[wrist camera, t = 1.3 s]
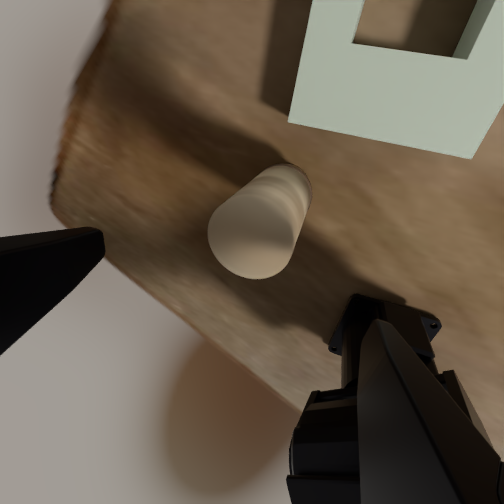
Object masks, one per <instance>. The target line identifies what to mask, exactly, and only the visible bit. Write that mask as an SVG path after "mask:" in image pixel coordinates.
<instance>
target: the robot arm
mask: <svg viewBox="0 0 504 504" xmlns="http://www.w3.org/2000/svg"><path fill="white" fill-rule="evenodd" d="M104 255H105V244H104V237H103V233H102V231H101V230H99V229H96V228H93V227H81V228H73V229H64V230H56V231H48V232H40V233H33V234H32V233H31V234H23V235H15V236H7V237H0V355H2V354H3V353H4V352H5V351H6V350H7V349H8V348H9V347H10V346H11V345H13V344H14V343H15V342H16V341H17V340H18V339H19V338H20V337H21V336H23V335H24V334H25V333H26V332H27V331H28V330H29V329H30V328H32V327H33V326H34V325H35V324H36V323H37V322H38V321H39V320H40V319H42V318H43V317H44V316H45V315H46V314H47V313H48V312H49V311H50V310H52V309H53V308H54V307H55V306H56V305H57V304H58V303H59V302H61V301H62V300H63V299H64V298H65V297H66V296H67V295H68V294H69V293H70V292H71V291H73V289H74V288H75V287H76V286H77V285H78V284H79V283H80V282H81V281H82V280H83V279H84V278H85V277H86V276H87V275H88V273H89V272H90V271H91V270H92V269H93V268H94V267H95V266H96V265H97V264H98V263H99V262H100V261H101V259H102V258H103V257H104ZM354 300H360V301H358V302H356V301H354ZM432 323H435V324H434V325H430V324H432ZM441 327H442V325H441V322H440V320H439V319H438V318H436V317H432V316H429V315H426V314H423V313H419V312H418V311H416V310H412V309H409V308H406V307H402V306H399V305H396V304H393V303H389V302H386V301H380V300H377V299H373V298H370V297H367V296H364V295H360V294H353V295H352V296H351V297H350V299H349V301H348V303H347V305H346V307H345V310H344V312H343V314H342V316H341V318H340V320H339V323H338V325H337V327H336V329H335V331H334V333H333V336H332V338H331V340H330V342H329V345H328V349H329V351H330V352H332V353H334V354H337V355H340V356H342V373H341V389H334V390H328V391H320V390H317V391H312V392H311V394H310V397H309V399H308V401H307V403H306V406H305V408H304V410H303V413H302V415H301V417H300V420H299V422H298V424H297V426H296V427H295V429H294V431H293V434H292V439H291V444H290V448H289V468H290V475H287V478H286V481H287V486H288V491H289V495H290V498H291V502H292V504H504V462H502V461H501V458H500V456H499V455H498V454H497V453H496V451H495V450H494V448H493V446H492V444H491V441H490V439H489V437H488V435H487V433H486V430H485V428H484V426H483V424H482V422H481V420H480V418H479V416H478V414H477V413H476V411H475V409H474V407H473V405H472V403H471V401H470V399H469V398H468V396H467V394H466V392H465V390H464V388H463V386H462V384H461V383H460V381H459V379H458V377H457V375H456V373H455V371H454V370H449V371H443V373H442V374H439V373H438V370H437V367H436V364H435V362H434V358H435V354H434V351H433V349H432V346H431V343H430V342H431V341H432V339H433V338H434V337H435V335H436V334H437V333H438V332H439V330H440V329H441ZM333 347H336V348H333Z"/></svg>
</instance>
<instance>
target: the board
mask: <svg viewBox="0 0 504 504" xmlns="http://www.w3.org/2000/svg"><path fill="white" fill-rule="evenodd" d="M364 1H365V0H313V2H312V6H311V11H310V16H309V21H308V26H307V31H306V36H305V40H304V45H303V50H302V55H301V60H300V65H299V70H298V74H297V79H296V84H295V89H294V94H293V99H292V104H291V108H290V113H289V118H288V122H290V123H295V124H300V125H305V126H310V127H315V128H319V129H324V130H329V131H334V132H339V133H344V134H349V135H354V136H359V137H364V138H369V139H374V140H379V141H384V142H389V143H394V144H398V145H403V146H408V147H413V148H418V149H423V150H428V151H433V152H438V153H443V154H448V155H453V156H458V157H463V158H468V159H472V157H473V156H474V154H475V152H476V150H477V149H478V147H479V145H480V143H481V142H482V140H483V138H484V136H485V135H486V133H487V131H488V129H489V128H490V126H491V124H492V122H493V121H494V119H495V117H496V115H497V114H498V112H499V110H500V109H501V107H502V105H503V103H504V0H477V3H476V5H475V7H474V9H473V11H472V14H471V16H470V18H469V20H468V23H467V25H466V27H465V29H464V32H463V34H462V36H461V38H460V40H459V43H458V45H457V47H456V49H455V52H454V54H453V56H452V58H451V57H444V56H437V55H430V54H423V53H416V52H409V51H402V50H395V49H388V48H381V47H374V46H367V45H360V44H353V40H354V37H355V33H356V30H357V26H358V23H359V19H360V16H361V12H362V8H363V5H364Z"/></svg>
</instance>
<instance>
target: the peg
mask: <svg viewBox="0 0 504 504" xmlns="http://www.w3.org/2000/svg"><path fill="white" fill-rule="evenodd" d="M311 200H312V189H311V184H310V181H309V179H308V178H307V176H306V174H305V172H304V171H303V170H302V169H301V168H299V167H297V166H295V165H291V164H275V165H271V166H269V167H267V168H265V169H264V170H263V171H261V172H260V173H259V174H258V175H257V177H255V178H254V179H253V180H252V181H250V182H249V183H248V184H247V185H245V186H244V187H243V188H242V189H240V190H239V191H238V192H237V193H235V194H234V195H233V196H232V197H230V198H229V199H228V200H227V201H225V202H224V203H223V204H222V205H220V206H219V207H218V208H217V209H216V210H215V211H214V213H213V214H212V216H211V218H210V221H209V224H208V241H209V245H210V247H211V250H212V252H213V254H214V255H215V257H216V258H217V260H218V261H219V262H220V263H221V264H222V265H223V266H224V267H225V268H227V269H228V270H229V271H231V272H233V273H234V274H236V275H239V276H241V277H245V278H250V279H264V278H268V277H271V276H274V275H275V274H277V273H279V272H280V271H281V270H282V269H284V268H285V266H286V265H287V264H288V262H289V260H290V258H291V255H292V253H293V250H294V247H295V244H296V241H297V238H298V235H299V233H300V230H301V227H302V224H303V221H304V218H305V216H306V213H307V211H308V209H309V207H310V204H311Z"/></svg>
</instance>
